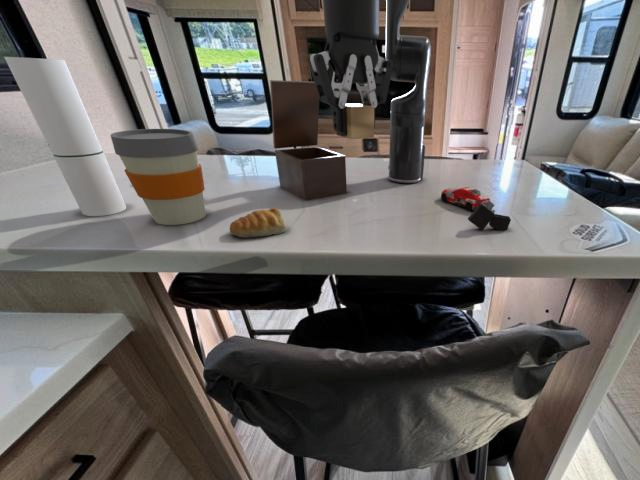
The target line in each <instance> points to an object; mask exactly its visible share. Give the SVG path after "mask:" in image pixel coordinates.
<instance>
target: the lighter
mask: <svg viewBox="0 0 640 480" xmlns="http://www.w3.org/2000/svg"><path fill="white" fill-rule="evenodd" d="M485 205H486V206H485ZM485 205H484V204H482V203H480V204H479V205H478V207H477V208H476V209H475V210H473V212H471V214H470V215H469V216H468V217H467V220H468V221H469V223H471V224H473V226H476V227H477V228H478V229H480V230H481V231H484V229H485V228H486V227H487V226H488V225H489V227H490V228H491V229H493V230H496V231H507V230H508V229H509V226H510V224H511V221H512V219H511V217H510V216H508V215H502V214H498V213H496V210H495V209H493V208H494V207H495V204H494V203H493V202H492V201H490V202H489V201H487V202H486V203H485Z"/></svg>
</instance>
